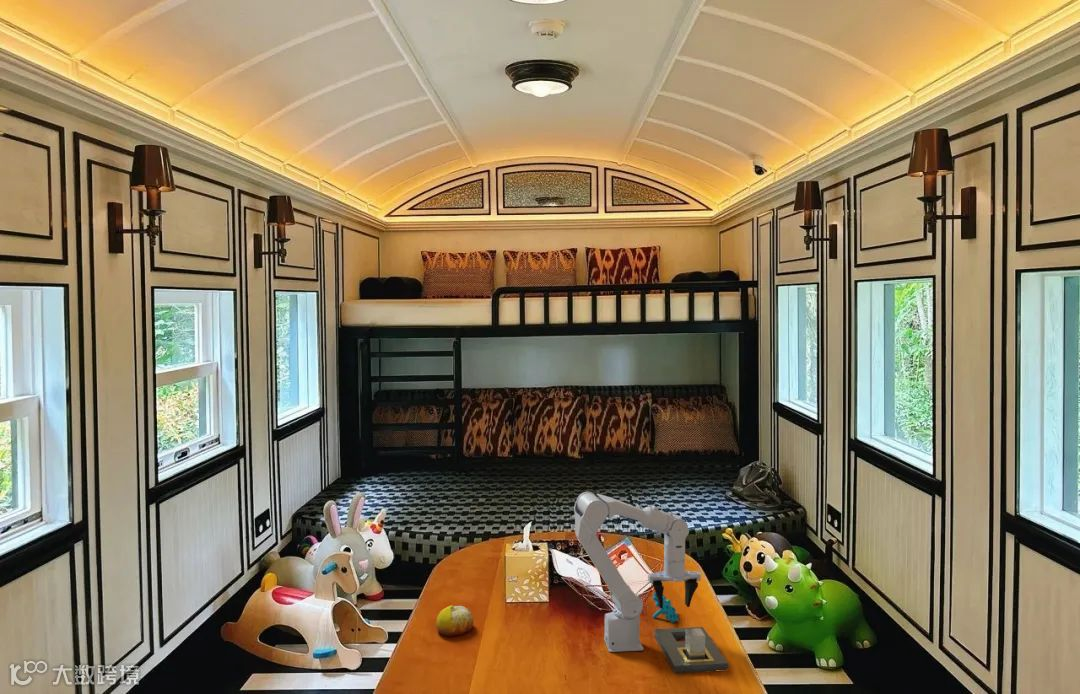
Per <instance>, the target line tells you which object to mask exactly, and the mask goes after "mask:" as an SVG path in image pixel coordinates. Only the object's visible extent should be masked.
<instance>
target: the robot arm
mask: <svg viewBox="0 0 1080 694" xmlns="http://www.w3.org/2000/svg"><path fill="white" fill-rule="evenodd" d="M573 512H574V532H575V536H576V538H577V540H578V541H579V543H580V545H581V546H582V547H583V549H584V551H585V552H586V554H587V556H588V557H589V559H590V560H591V562H592V564H593V565H594V567H595V568H596V570H597V572H598V574H599V575H600V576H601V578H602V579H603V581H604V583H605V584H606V587H607V589H608V591H609V595H610V600H611V602H612V603H613V604H614V606H613V608H612V609H613V610H612V611H611V612H608V613H604V637H603V640H604V642H605V645H606V647H607V650H608V652H609V653H617V652H619V653H621V652H635V651H637V652H638V651H639V652H640V651H644V647H643V644H642V643H641V640H640V615H641V614H642V611H643V609H644V603H643V600H642V599H641V597H639V596H638V595H637V594H636V593H635V592H634V591H633V589H632V588H631V587H630V586H629V585H628V583H626V581H625V579H624V578H623V576H622V575H621V573H620V572H619V570H618V569H617V567H616V565H615V564H614V561H612V559H611V557H610V556H609V554H608V552H607V550H606V549H605V547H604V545H603V544H602V542H601V540H599V538H598V536H597V533H598V531H599V529H600V528H601V526H602V525H603V523H604V522H605V521H606V519H609V520H610V519H611V518H613V517H615V515H617V516H621V517H624V518H628V519H632V520H635V521H639V523H640V526H641V527H642V528H645V529H648V530H652V531H654V532H657V533H660V534H663V535H664V536H663V537H664V542H663V546H664V547H663V550H664V551H663V570H662V571H658V572H651V573H647V581H648V583H649V584H651V585H652V586H653V589H654V591H655V592H656V595H657V599H658V605H659V607H660V608H663V595H664V589H665V587H664V585H663V582H675V583H679V582H684V589H685V590H684V605H686V608H689V607H690V606H691V602H692V598H693V596H694V594H695V592H696V590H697V589H698V587H699V582H700V581H701V579H702V577H701V575H702V574H701V573H700V571H692V570H686V538H687V536H688V535H689V533H690V528H689V525H688V523H687V521H686V520H685V519H683V518H681V517H680V516H679V515H677V514H675V513H674V512H671V511H668V512H665V511H662V510H661V509H660V510H659V508H658V507H657V506H655V505H651V506H646V507H643V508H639V507H636V506H635V505H631V504H628V503H626V502H624V501H622V500H618V499H615V498H613V497H611V496H607V495H605V494H600V493H596V494H595V493H594V492H592V491H585V492H582V493H580V495H578V496H577V498H576V500H575V503H574V506H573ZM655 592H654V593H655ZM659 607H658V608H659Z"/></svg>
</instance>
